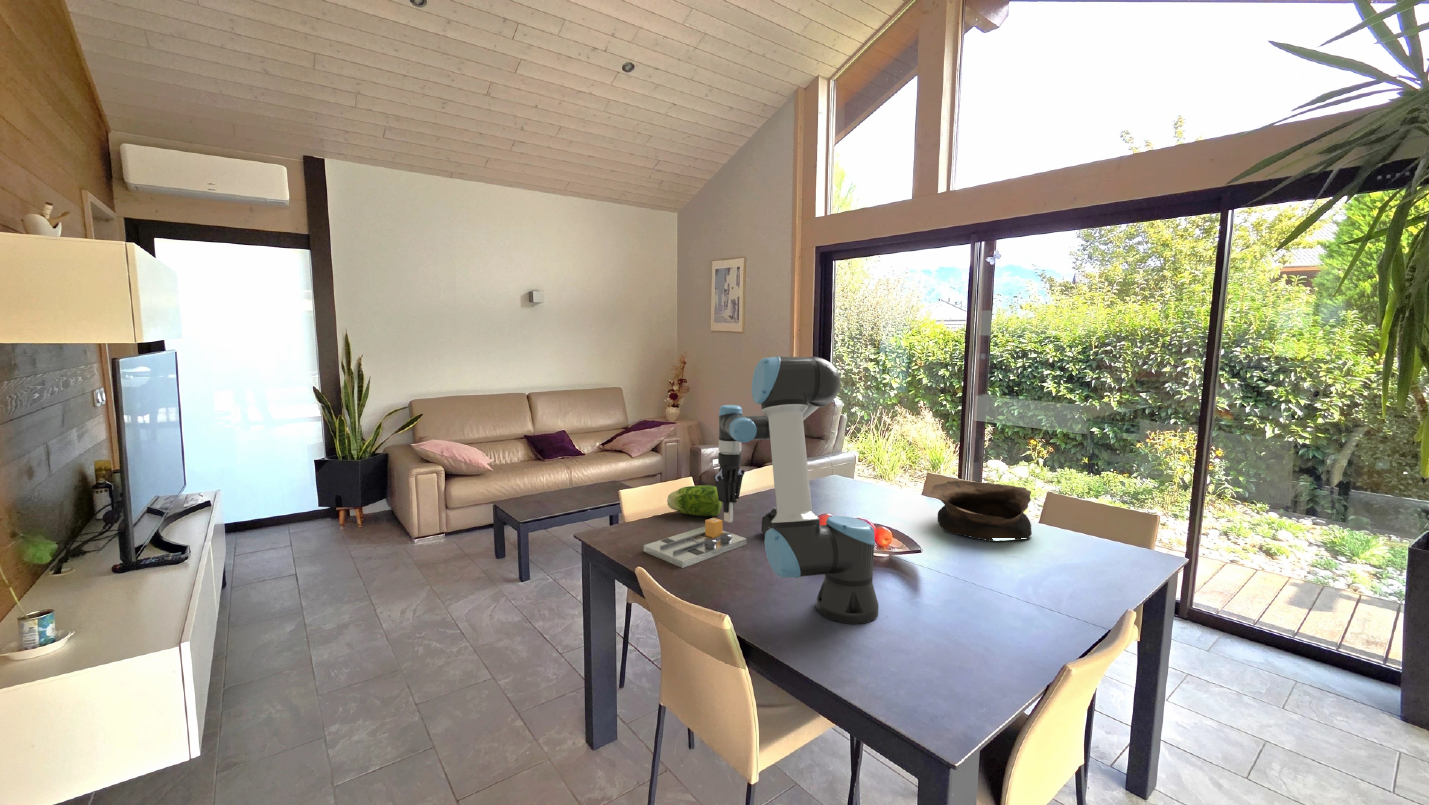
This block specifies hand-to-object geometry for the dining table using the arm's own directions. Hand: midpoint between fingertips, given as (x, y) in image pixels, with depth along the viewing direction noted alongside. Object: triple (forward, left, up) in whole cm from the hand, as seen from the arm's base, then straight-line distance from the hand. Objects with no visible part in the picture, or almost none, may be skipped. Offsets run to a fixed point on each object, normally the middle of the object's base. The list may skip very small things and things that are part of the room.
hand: (728, 521), depth 204 cm
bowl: (-56, -70, -6) cm, 90 cm away
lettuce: (+25, -8, -6) cm, 27 cm away
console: (0, +15, -5) cm, 16 cm away
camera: (-12, -13, -6) cm, 18 cm away
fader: (0, +7, -3) cm, 8 cm away
